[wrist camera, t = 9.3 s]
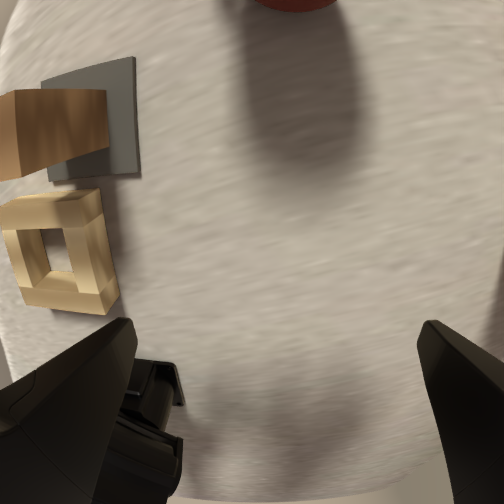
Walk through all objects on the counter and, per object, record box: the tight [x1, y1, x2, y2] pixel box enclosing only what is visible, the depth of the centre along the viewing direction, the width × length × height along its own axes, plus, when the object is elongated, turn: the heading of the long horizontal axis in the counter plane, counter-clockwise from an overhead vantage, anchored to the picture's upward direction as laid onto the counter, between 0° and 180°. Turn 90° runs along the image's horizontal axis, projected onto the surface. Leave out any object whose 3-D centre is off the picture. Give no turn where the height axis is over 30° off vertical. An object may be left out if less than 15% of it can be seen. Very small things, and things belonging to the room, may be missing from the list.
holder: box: [0, 188, 120, 315], centre depth 21 cm, size 9×9×3 cm
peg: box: [0, 89, 109, 182], centre depth 14 cm, size 4×4×9 cm
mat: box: [41, 56, 141, 182], centre depth 18 cm, size 8×8×1 cm
